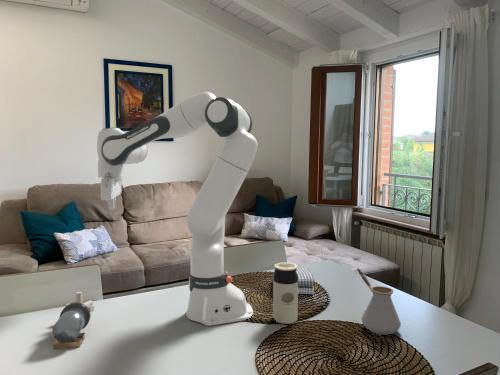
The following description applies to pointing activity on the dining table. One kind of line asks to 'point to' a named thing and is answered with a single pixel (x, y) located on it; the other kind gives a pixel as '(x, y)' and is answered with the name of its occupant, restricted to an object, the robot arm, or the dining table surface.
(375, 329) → the coffee pot
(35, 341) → the dining table surface
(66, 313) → the lidded storage canister
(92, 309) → the beige crossed rods piece
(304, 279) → the towel
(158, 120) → the robot arm
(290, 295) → the travel mug
